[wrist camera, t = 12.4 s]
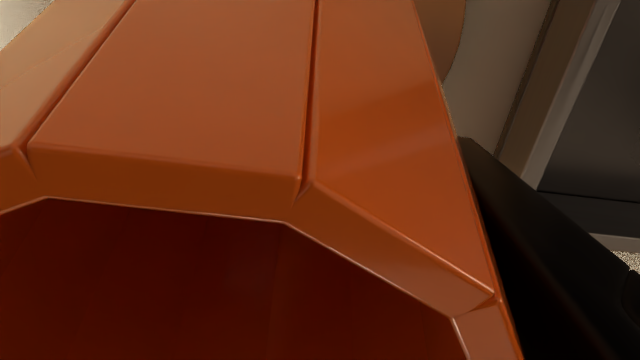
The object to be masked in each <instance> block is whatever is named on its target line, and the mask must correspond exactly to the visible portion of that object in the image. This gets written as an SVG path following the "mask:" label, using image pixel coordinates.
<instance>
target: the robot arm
mask: <svg viewBox="0 0 640 360" xmlns="http://www.w3.org/2000/svg"><path fill="white" fill-rule="evenodd" d="M458 140H459V143H460V146H461V149H462V153H463V156H464V159H465V163H466V166H467V169H468V172H469V176H470V179H471V182H472V185H473V189H474V192H475V195H476V198H477V202H478V205H479V208H480V211H481V215H482V218H483V221H484V225H485V228H486V231H487V234H488V238H489V241H490V244H491V247H492V251H493V254H494V257H495V260H496V264H497V267H498V270H499V274H500V277H501V280H502V283H503V287H504V290H505V293H506V296H507V300H508V303H509V306H510V309H511V313H512V316H513V319H514V323H515V326H516V329H517V332H518V336H519V339H520V342H521V345H522V349H523V352H524V355H525V358H526V360H640V274H638V273H637V272H636V271H635V270H630V271H629V269H630V268H629V266H628V265H627V264H626V263H625V262H623V261H622V260H621V259H620V258H618V257H617V256H616V255H615V254H613V253H612V252H611V251H610V250H609V249H607V248H606V247H605V246H604V245H602V244H601V243H600V242H599V241H597V240H596V239H595V238H594V237H592V236H591V235H590V234H589V233H588V232H586V231H585V230H584V229H583V228H581V227H580V226H579V225H578V224H576V223H575V222H574V221H573V220H571V219H570V218H569V217H568V216H567V215H565V214H564V213H563V212H562V211H560V210H559V209H558V208H557V207H555V206H554V205H553V204H552V203H550V202H549V201H548V200H547V199H546V198H544V197H543V196H542V195H541V194H539V193H538V192H537V191H536V190H534V189H533V188H532V187H531V186H530V185H528V184H527V183H526V182H525V181H523V180H522V179H521V178H520V177H518V176H517V175H516V174H515V173H513V172H512V171H511V170H510V169H509V168H507V167H506V166H505V165H504V164H502V163H501V162H500V161H499V160H497V159H496V158H495V157H494V156H492V155H491V154H490V153H489V152H488V151H486V150H485V149H484V148H483V147H481V146H480V145H479V144H478V143H476V142H475V141H474V140H473V139H471V138H468V137H460V136H458Z"/></svg>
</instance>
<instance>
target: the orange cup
mask: <svg viewBox="0 0 640 360" xmlns="http://www.w3.org/2000/svg"><path fill="white" fill-rule="evenodd" d="M0 360H526V358H525V355H524V352H523V349H522V345H521V342H520V339H519V336H518V332H517V329H516V326H515V323H514V319H513V316H512V313H511V309H510V306H509V303H508V300H507V296H506V293H505V290H504V287H503V283H502V280H501V277H500V274H499V270H498V267H497V264H496V260H495V257H494V254H493V251H492V247H491V244H490V241H489V238H488V234H487V231H486V228H485V225H484V221H483V218H482V215H481V211H480V208H479V205H478V202H477V198H476V195H475V192H474V189H473V185H472V182H471V179H470V176H469V172H468V169H467V166H466V163H465V159H464V156H463V153H462V149H461V146H460V143H459V140H458V136H457V133H456V130H455V127H454V123H453V120H452V117H451V114H450V110H449V107H448V104H447V100H446V97H445V94H444V91H443V87H442V84H441V81H440V78H439V74H438V71H437V68H436V65H435V61H434V58H433V55H432V52H431V49H430V46H429V43H428V40H427V37H426V34H425V31H424V28H423V25H422V22H421V18H420V15H419V12H418V10H417V7H416V3H415V0H54V1H53V2H52V3H51V4H50V5H49V6H48V7H47V8H46V9H45V10H44V11H43V12H42V13H40V14H39V15H38V16H37V17H36V18H35V19H34V20H33V21H32V22H31V23H30V24H29V25H28V26H27V27H26V28H25V29H23V30H22V31H21V32H20V33H19V34H18V35H17V36H16V37H15V38H14V39H13V40H12V41H11V42H10V43H9V44H7V45H6V46H5V47H4V48H3V49H2V50H1V51H0Z"/></svg>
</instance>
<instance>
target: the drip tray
mask: <svg viewBox="0 0 640 360" xmlns="http://www.w3.org/2000/svg"><path fill="white" fill-rule="evenodd" d="M494 157H495V158H496V159H497V160H499V161H500V162H501V163H502V164H504V165H505V166H506V167H507V168H509V169H510V170H511V171H512V172H513V173H515V174H516V175H517V176H518V177H520V178H521V179H522V180H523V181H525V182H526V183H527V184H528V185H530V186H531V187H532V188H533V189H534V190H536V191H537V192H538V193H539V194H541V195H542V196H543V197H544V198H546V199H547V200H548V201H549V202H550V203H552V204H553V205H554V206H555V207H557V208H558V209H559V210H560V211H562V212H563V213H564V214H565V215H567V216H568V217H569V218H570V219H571V220H573V221H574V222H575V223H576V224H578V225H579V226H580V227H581V228H583V229H584V230H585V231H586V232H588V233H589V234H590V235H591V236H592V237H594V238H595V239H596V240H597V241H599V242H600V243H601V244H602V245H604V246H605V247H606V248H607V249H609V250H612V251H621V252H630V253H639V254H640V0H551V3H550V6H549V8H548V11H547V14H546V17H545V19H544V22H543V25H542V27H541V30H540V33H539V35H538V38H537V41H536V43H535V46H534V49H533V51H532V54H531V57H530V59H529V62H528V65H527V68H526V70H525V73H524V76H523V78H522V81H521V84H520V86H519V89H518V92H517V94H516V97H515V100H514V102H513V105H512V108H511V110H510V113H509V116H508V118H507V121H506V124H505V127H504V129H503V132H502V135H501V137H500V140H499V143H498V145H497V148H496V151H495V153H494Z"/></svg>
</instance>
